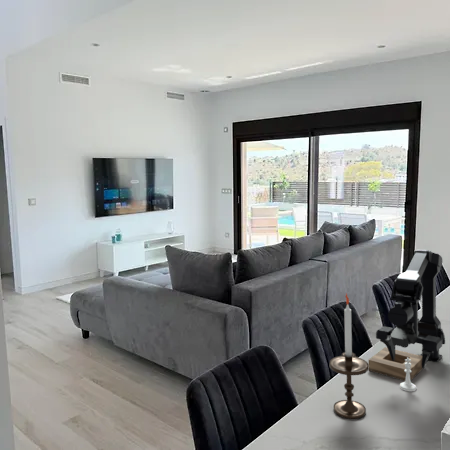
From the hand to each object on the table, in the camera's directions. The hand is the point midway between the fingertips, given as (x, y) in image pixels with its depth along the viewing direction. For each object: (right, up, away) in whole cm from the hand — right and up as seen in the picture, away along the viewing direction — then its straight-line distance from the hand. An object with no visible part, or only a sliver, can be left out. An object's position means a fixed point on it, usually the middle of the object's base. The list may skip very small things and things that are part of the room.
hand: (408, 364), depth 135 cm
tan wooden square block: (+2, -6, +14) cm, 16 cm away
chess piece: (0, -8, +1) cm, 8 cm away
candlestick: (-22, -10, -11) cm, 27 cm away
